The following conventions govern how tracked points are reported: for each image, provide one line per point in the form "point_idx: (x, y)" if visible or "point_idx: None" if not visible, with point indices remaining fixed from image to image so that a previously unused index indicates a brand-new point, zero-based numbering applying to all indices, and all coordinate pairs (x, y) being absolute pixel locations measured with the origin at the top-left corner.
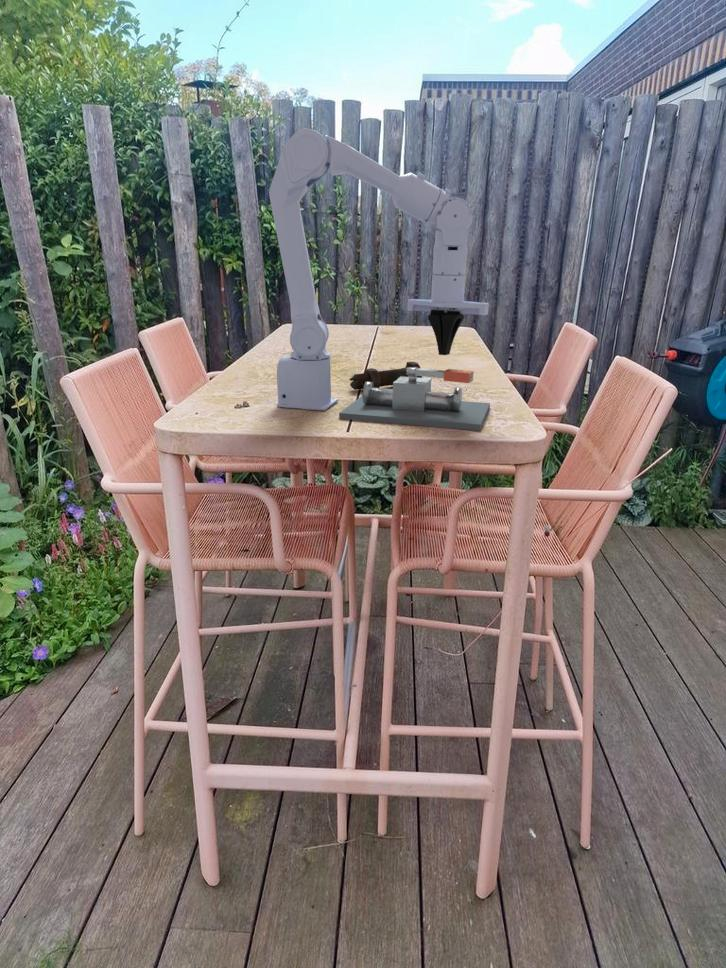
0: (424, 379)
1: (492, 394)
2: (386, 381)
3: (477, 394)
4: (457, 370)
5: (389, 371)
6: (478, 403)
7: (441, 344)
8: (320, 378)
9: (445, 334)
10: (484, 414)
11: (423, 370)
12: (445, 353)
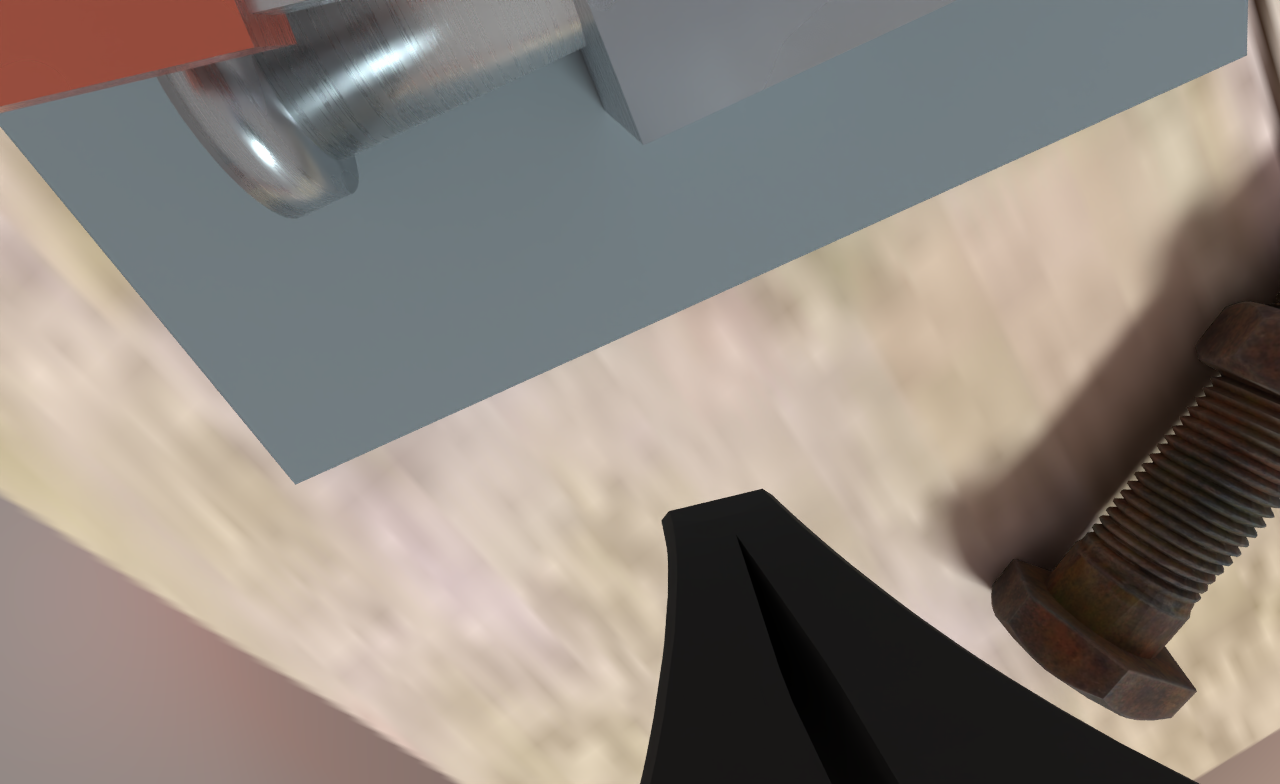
0: (675, 23)
1: (536, 722)
2: (1195, 424)
3: (605, 670)
4: (35, 24)
5: (1245, 504)
6: (348, 420)
7: (765, 578)
8: None
9: (736, 746)
10: (22, 144)
11: None
12: (670, 527)
